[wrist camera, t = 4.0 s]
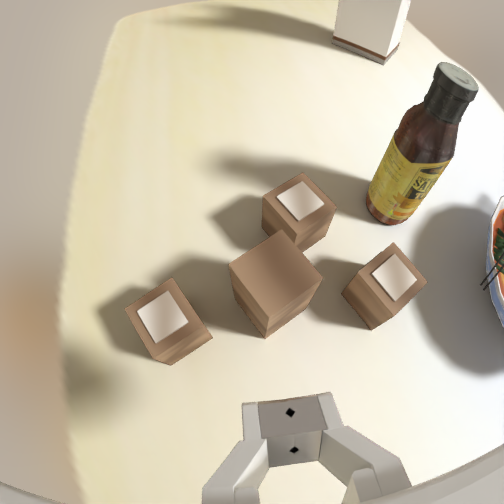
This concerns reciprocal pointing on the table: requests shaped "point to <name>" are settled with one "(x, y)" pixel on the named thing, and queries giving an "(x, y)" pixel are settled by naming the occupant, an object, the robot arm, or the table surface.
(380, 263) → the white paneled block
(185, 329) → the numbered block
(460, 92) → the sauce bottle
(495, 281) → the ramen bowl
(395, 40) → the spiral tower model
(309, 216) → the white-paneled wooden block
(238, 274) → the plain block
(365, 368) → the table surface
